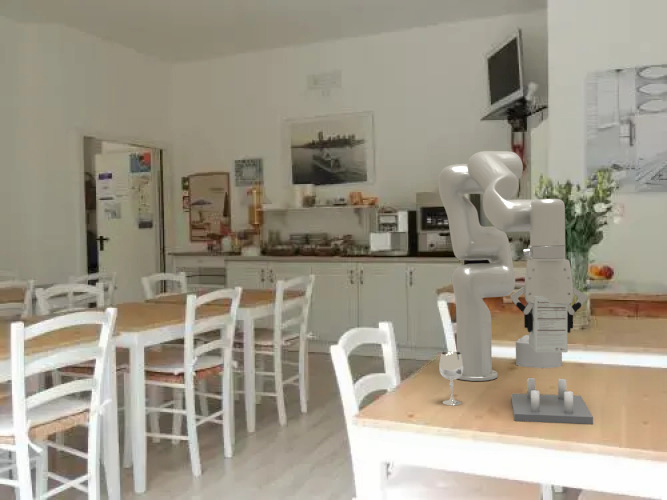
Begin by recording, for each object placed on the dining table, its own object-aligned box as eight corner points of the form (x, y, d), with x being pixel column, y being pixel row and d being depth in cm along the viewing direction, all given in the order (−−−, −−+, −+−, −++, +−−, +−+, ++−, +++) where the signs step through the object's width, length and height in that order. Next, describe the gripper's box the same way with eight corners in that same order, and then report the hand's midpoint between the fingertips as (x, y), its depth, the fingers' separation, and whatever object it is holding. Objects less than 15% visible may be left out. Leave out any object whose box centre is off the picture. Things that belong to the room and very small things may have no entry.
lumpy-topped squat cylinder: (520, 359, 210) (519, 332, 209) (563, 362, 204) (563, 334, 204) (514, 366, 200) (513, 337, 200) (559, 369, 195) (559, 340, 194)
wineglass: (465, 400, 162) (464, 351, 162) (462, 406, 157) (461, 356, 157) (441, 399, 164) (441, 350, 164) (437, 405, 159) (436, 355, 158)
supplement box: (528, 346, 157) (528, 292, 156) (561, 346, 156) (560, 292, 155) (533, 352, 149) (533, 296, 149) (568, 352, 148) (568, 296, 148)
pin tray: (514, 420, 145) (514, 393, 145) (511, 399, 162) (510, 375, 162) (593, 424, 141) (592, 396, 141) (580, 401, 159) (580, 377, 159)
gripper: (508, 255, 149) (509, 333, 150) (591, 254, 145) (592, 334, 146) (507, 253, 156) (508, 328, 157) (586, 252, 152) (586, 329, 153)
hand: (548, 331), depth 151 cm, fingers closed on supplement box, 7 cm apart
